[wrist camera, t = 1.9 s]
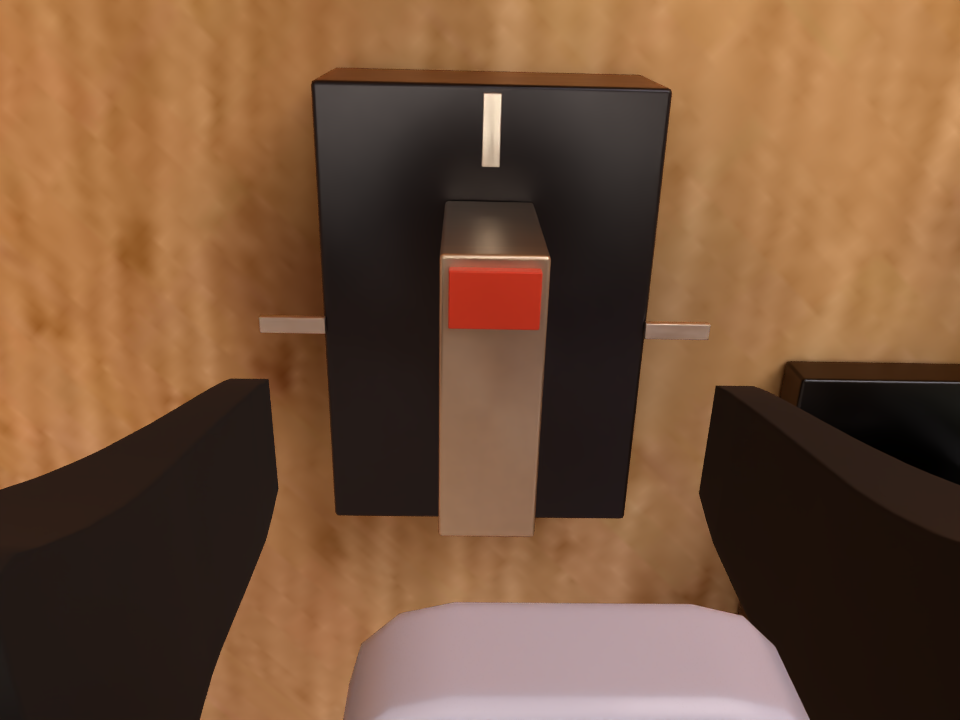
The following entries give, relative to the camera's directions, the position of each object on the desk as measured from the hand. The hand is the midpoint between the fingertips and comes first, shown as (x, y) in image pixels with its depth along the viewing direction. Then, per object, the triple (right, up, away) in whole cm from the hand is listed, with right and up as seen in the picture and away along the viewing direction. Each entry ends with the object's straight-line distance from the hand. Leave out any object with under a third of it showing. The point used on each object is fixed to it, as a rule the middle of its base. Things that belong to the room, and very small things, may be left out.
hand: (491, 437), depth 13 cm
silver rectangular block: (0, +2, +5) cm, 5 cm away
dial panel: (0, +3, +7) cm, 8 cm away
